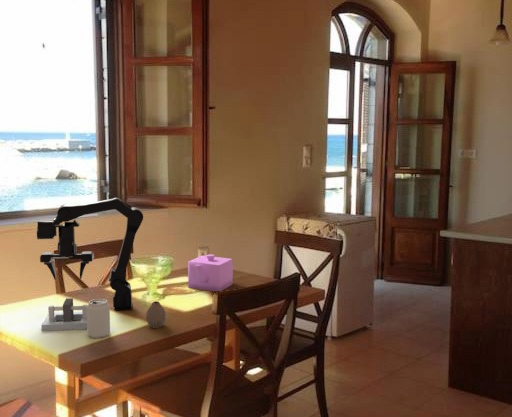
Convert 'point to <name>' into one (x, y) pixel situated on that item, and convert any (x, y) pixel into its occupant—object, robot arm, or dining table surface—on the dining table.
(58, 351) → the dining table surface
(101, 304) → the can
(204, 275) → the pink knobbed box
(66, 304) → the tall grey upright block
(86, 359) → the dining table surface
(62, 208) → the robot arm
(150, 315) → the vase
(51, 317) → the square frame
